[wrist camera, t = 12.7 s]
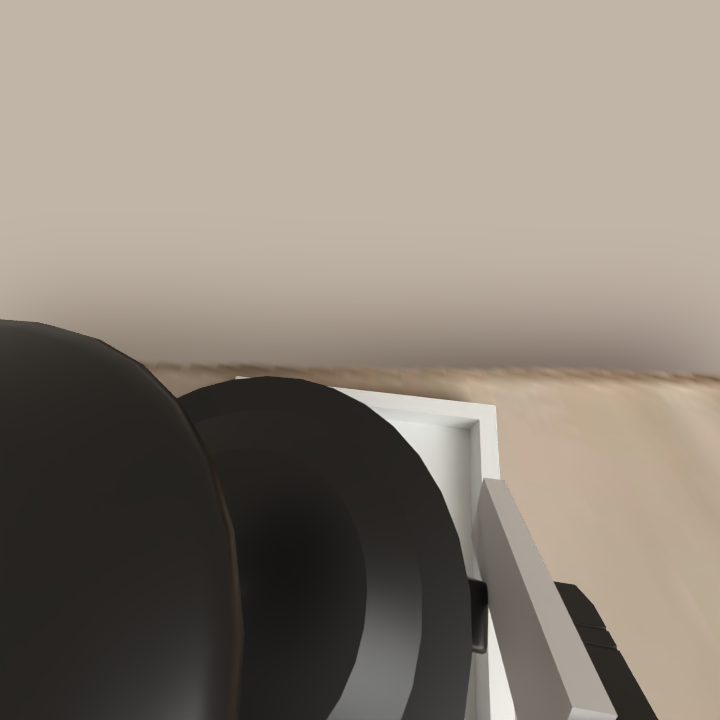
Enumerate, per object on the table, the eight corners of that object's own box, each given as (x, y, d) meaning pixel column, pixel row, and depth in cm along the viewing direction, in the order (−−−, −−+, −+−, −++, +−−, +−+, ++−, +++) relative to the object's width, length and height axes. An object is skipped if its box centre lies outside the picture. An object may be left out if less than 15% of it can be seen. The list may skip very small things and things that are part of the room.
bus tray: (140, 745, 19) (97, 785, 16) (249, 392, 29) (235, 375, 26) (497, 821, 17) (524, 882, 14) (481, 420, 28) (495, 405, 25)
